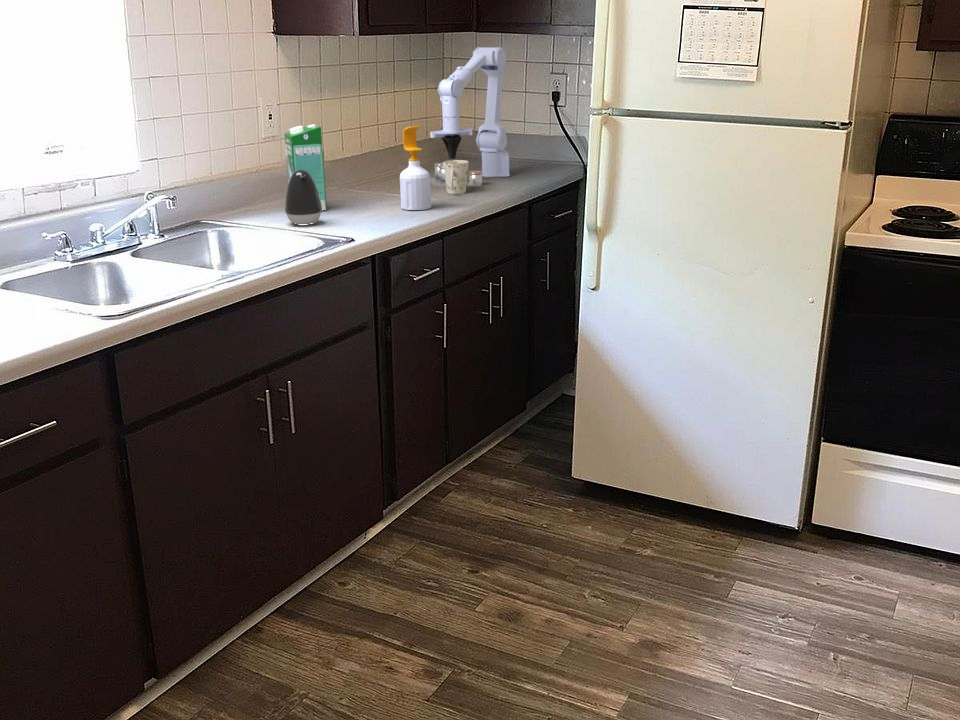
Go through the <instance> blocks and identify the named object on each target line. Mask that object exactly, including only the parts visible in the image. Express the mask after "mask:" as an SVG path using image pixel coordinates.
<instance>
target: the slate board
mask: <svg viewBox="0 0 960 720" xmlns="http://www.w3.org/2000/svg"><path fill="white" fill-rule="evenodd" d="M430 185H433V186H434V187H446V182H441V181H439V179H435V177H430ZM467 185H469V181H467Z"/></svg>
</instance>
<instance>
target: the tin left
mask: <svg viewBox="0 0 960 720" xmlns="http://www.w3.org/2000/svg"><path fill="white" fill-rule="evenodd" d="M433 164H434V165H433V166H434V178H435V179H439V166H440V165H443V162H434V163H433Z"/></svg>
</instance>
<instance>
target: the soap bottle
mask: <svg viewBox="0 0 960 720" xmlns="http://www.w3.org/2000/svg"><path fill="white" fill-rule="evenodd" d="M420 128H421V125H410V126H407V127H405V128H404V129H403V130H402V138H403V141H402V142H403V149H404V151H408V153H409V154H410V158H408V166H407V168H405V169H403V170H402V171H401V172H400V174H399V186H400V187H399V188H400V189H399V191H400V208H401V209H402V210H403V209H404V211H407V210H422V211H427V210H429V209H431V208H432V196H431V195H432V194H431V183H430V178H431V175H430V173H429V171H427V170H426V168H424V167H422V166H421V165H420V164H421V160H420V159H421V158H419V157H418V154H419V152H420V151H423V148H420V147H418V145H417V131H418V129H420ZM426 209H427V210H426Z"/></svg>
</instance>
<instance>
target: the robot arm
mask: <svg viewBox="0 0 960 720" xmlns="http://www.w3.org/2000/svg"><path fill="white" fill-rule="evenodd" d="M506 64H507V54H506V52H505V50H504V48H503V47H501V46H498V47H487V46H486V47H484V46H483V47H482V46H478V47H476V48H475V50H473V51H472V57H471V58H470V59H469V61H468V62H467V63H466V64H465V65H464V66H457V67H456V69H455V70H454V72H452V74H450V75H449V77H447V79H446V78H444V79H442V80H441V81H439V83H438V87H437V93H438V95H439V99H440V102H441V111H442V112H441V114H442V115H441V117H442V129H441V130H434V131H430V138H431V139H436V138H441V140H442V141H443V143H444V146H445V148H446V151H447V154H448V158H449V159H451V160H456V156H457V151H458V148H459V145H460V143H461V141H462V136H473V129H472V128H461V121H460V119H461V117H460V116H461V115H460V114H461V113H460V97H462V94H463V92H464V89H465V87H466V86H467V85H468V84H469V82H471V81H472V78H473V74H474V73H476V71H478V70H479V69H480V70H481V71H482V72H484V73H485V75H487V77H488V78H487V89H486V91H487V92H486V105H485V114H484V115H485V116H484V117H485V118H484V123H483V124H481V125H480V126H479V127H478V131H477V135H476V138H475V139H476V140H475V143H476V146H477V148H478V149H479V152H481V171H482V172H483V173H482V177H484V178H489V177H493V178H494V177H499V178H504V177H505V178H506V177H510V155H509V152H508V150H506V147H507V144H508V137H507V128H506V127H504V126H503V125H502V124H501V113H502V101H503V100H502V99H503V85H504V73H505V72H506Z"/></svg>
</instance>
